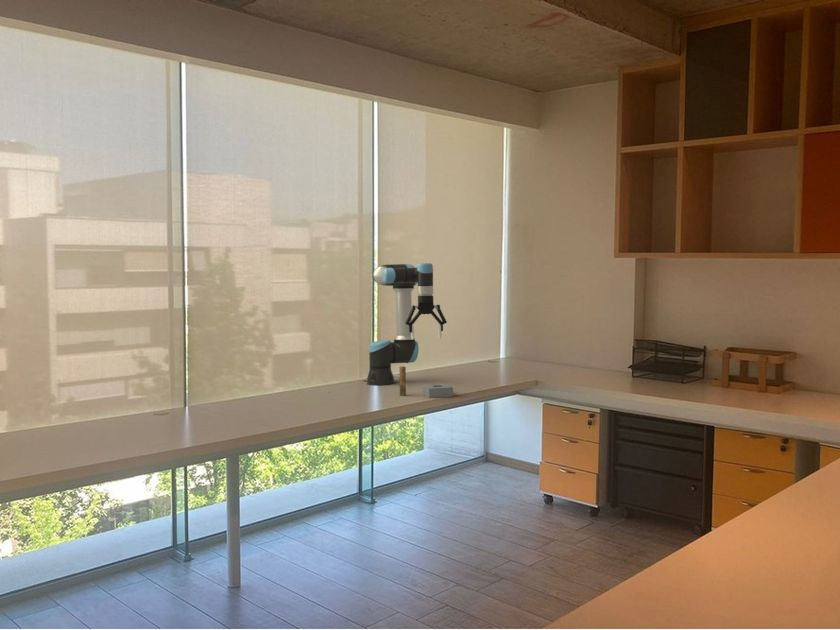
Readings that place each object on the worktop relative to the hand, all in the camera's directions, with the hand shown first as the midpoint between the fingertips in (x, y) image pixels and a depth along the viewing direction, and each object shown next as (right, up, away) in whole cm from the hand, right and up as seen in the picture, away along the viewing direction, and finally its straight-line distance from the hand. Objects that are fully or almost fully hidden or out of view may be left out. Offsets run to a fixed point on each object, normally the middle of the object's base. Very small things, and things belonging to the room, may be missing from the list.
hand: (426, 338), depth 368 cm
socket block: (+6, -28, +1) cm, 28 cm away
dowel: (-11, -28, +3) cm, 30 cm away
